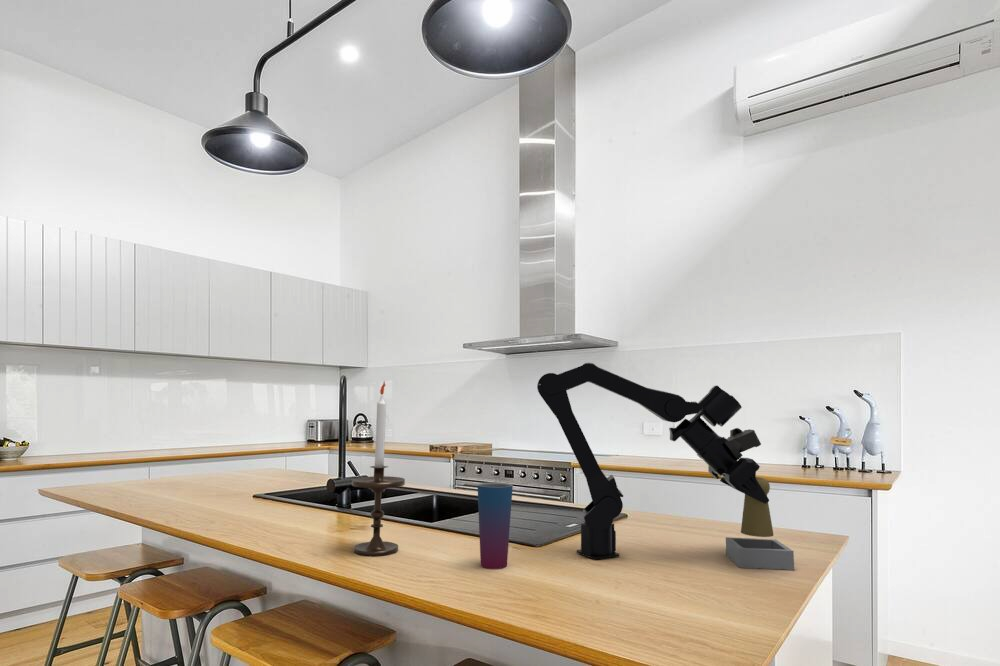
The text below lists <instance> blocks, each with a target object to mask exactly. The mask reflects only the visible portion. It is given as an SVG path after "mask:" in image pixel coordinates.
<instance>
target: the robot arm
mask: <svg viewBox="0 0 1000 666" xmlns="http://www.w3.org/2000/svg"><path fill="white" fill-rule="evenodd" d="M586 383H589V384H590V383H591V384H593V385H595V386H596V387H597V386H598V387H599V388H602V389H604V390H606V391H608V392H611V393H613V394H616V395H618V396H620V397H622V398H625V399H627V400H630V401H632V402H634V403H636V404H638V405H640V406H642V407H643V408H644V409H645V410H647V411H649V412H650V413H651V414H653V415H654V416H656V417H657V418H659V419H661V420H662V421H664V422H669V423H679V422H680V423H679V424H677V426H676V427H669V429H668V430H669V440H670V441H671V442H676V441H678V439H679V438H681V439H682V440H683V441H684V442H685V443H686V444H687V445H688V447H690V448H691V449H692V450H693V451H694V452H695V454H696V456H697V457H699V459H701V460H703V461H704V463H705V464H706V465H708V466H707V467H708V470H707V471H708V473H709V474H710V475H711V476H712V477H713V478H714V479H716V480H720V482H721V483H723V484H725V485H727V486H729V487H730V488H732V489H734V490H736V491H738V492H741V493H742V494H744V495H745V494H746V495H748V496H750V497H752V498H754V499H756V500H758V501H760V502H762V503H764V504H766V503H767V502H768V503H769V502H770V499H769V497H768V495H767V496H766V494H765V492H764V491H763V489H762V488H761V486H760V484H759V483H758V481H757V479H756V477H757V471H758V470H760V468H761V466H760V465H759V464H758V463H757V462H756V461H755V460H754V459H753V458H749V457H743V454H742V452H743V453H744V452H745V451H748V450H750V449H753V448H757V447H760V446H762V443H761V441H760V439H759V437H758V435H757V432H756V431H755V430H754V429H745V430H742V429H740V428H739V427H736V428H733V429H730V430H729V436H728V437H727V438H726V437H724V436H720V435H718V434H717V432H715V430H713V429H712V427H713V428H714V427H716V426H717V425H718V426H720V427H721V428H722V427H723V426H725V425H726V423H727V422H729V421H730V420H731V419H732V418H733V417H734V416H735V415H736V414H737V413H738V412H739V411H741V409H742V408H743V406H742V405H741V403H740V402H739V401H738V400H737V398H735V397H734V396H733V395H730V394H729V393H728V392H727V391H725V390H724V389H722V388H721V387H720V386H719V385H713V386H712V387H711V388H710V389H709V391H708V392H707V393H706V395H705V396H703V397H702V398H701V399H700V400H699V401H698V402H697V401H688V400H687V401H686V399H684V397H683V396H681V395H679V394H676V393H671V392H668V391H663V390H658V389H654V388H650V387H646V386H644V385H641V384H639V383H637V382H634V381H632V380H629V379H627V378H625V377H623V376H620V375H617V374H615V373H613V372H612V371H611V372H610V371H608V370H606V369H603V368H601V367H599V366H597V365H596V364H595V363H593V362H585V363H583V364H582V365H580V366H578V367H574V368H572V369H568V370H566V371H562V372H561V373H559V374H556V373H554V372H548V373H544V374H543V375H542V376H540V378H539V379H538V382H537V392H538V394H539V396H540V397H541V399H542V400H543V401H544V403H545V404H546V405H547V406H548V408H549V409H550V411H551V412H552V414H553V415H554V416H555V418H556V419H557V420H558V423H559V426H560V427H561V429H562V431H563V433H564V435H565V437H566V440H567V441H568V444H569V446H570V448H571V450H572V452H573V454H574V456H575V459H576V460H577V462H578V465H579V466H580V469H581V470H582V473H583V475H584V478H585V479H586V484H587V487H588V489H589V493H590V497H591V501H590V503H588V505H586V506H585V507H584V508H583V509H582V515H583V519H584V520H583V521H584V522H581V523H580V549H576V553H577V554H579V555H582V556H585V557H587V558H589V559H593V560H601V559H607V558H609V559H610V558H615V557H620V553H618V552H617V551H616V549H617V546H616V545H617V539H616V538H617V534H616V533H617V532H616V530H615V523H613V522H614V519H615V518H617V517H619V515H620V514H621V512H622V511H623V508H624V506H623V505H624V504H623V501H622V498H624V494H623V493H622V491H621V490H620V489H619V488H618V485H617V482H616V478H615V477H614V475H613V474H610V475H608V477H607V476H606V475H605V473H604V472H603V471H602V469H601V467H600V465H599V463H598V461H597V459H596V456H595V455H594V452H593V451H592V449H591V447H590V444H589V442H588V441H587V439H586V437H585V436H586V435H584V432H583V430H582V427H581V426H580V424H579V422H578V420H577V417H576V416H575V414H574V411H573V409H572V406H571V402H570V399H569V395H568V391H569V390H571V389H574V388H576V387H578V386H581V385H583V384H586ZM689 415H690V416H691V415H694V416H692V417H691V418H690V419H687V418H685V417H686V416H689ZM701 417H702V418H703V419H702V418H701ZM704 420H705V421H706V422H705V421H704ZM707 423H708V424H709V425H708V424H707ZM710 425H711V426H712V427H710ZM720 477H721V479H720Z"/></svg>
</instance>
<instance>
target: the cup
mask: <svg viewBox="0 0 1000 666" xmlns="http://www.w3.org/2000/svg"><path fill="white" fill-rule="evenodd" d="M513 486H514V484H512V483H508V482H507V483H506V482H498V481H497V482H495V481H493V482H480V483H478V484H477V505H478V506H477V507H478V528H479V529H478V530H479V532H478V533H479V534H478V535H479V553H480V555H479V558H480V566H481V567H482V568H484V569H487V570H488V569H489V570H498V569H499V570H500V569H505V568H507V566H508V559H509V558H508V555H509V543H510V541H509V540H510V530H511V529H510V526H511V516H512V514H511V513H512V512H511V511H512V503H513V490H514V489H513Z"/></svg>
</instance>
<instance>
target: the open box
mask: <svg viewBox="0 0 1000 666" xmlns="http://www.w3.org/2000/svg"><path fill="white" fill-rule="evenodd" d="M794 553H795V552H794V550H793V549H792V548H789V547H788V546H786V545H785V544H783V543H782V542H781V541H779V540H777V539H774V538H751V537H727V536H726V537H725V555H726V556H727V557H728V558H729V559H730V560H731V561H732V562H733V564H735V565H736V566H737V567H738V568H740V569H757V568H762V570H778V569H785V570H784V571H795V558H794V557H795V554H794ZM763 568H764V569H763ZM786 569H787V570H786Z"/></svg>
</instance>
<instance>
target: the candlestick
mask: <svg viewBox="0 0 1000 666" xmlns="http://www.w3.org/2000/svg"><path fill="white" fill-rule="evenodd" d="M385 387H386V383H385V380H383V383H382V385H381V387H380V390H379V393H380V398H379V400H378V401H377V402H376V404H377V405H376V419H375V420H376V421H375V422H376V423H375V424H376V425H375V446H374V451H375V452H374V465H372V466H369V468H370V469H371V468H372V469H373V476H361V477H356V478H352V479H351V486H352V487H354V488H362V489H368V490H371V492H372V493H374V505H373V506H374V509H373V510H372V511H371V512H370V517H371V518H372V519H373V522H372V524H371V525H370V528H372V530H373V531H372V532H373V533H372V537H371V539H370V540H369V541H365V542H361V543H358V544H355V545H354V546H353V551H352V552H353V554H355V555H357V556H360V557H386V556H390V555H393V554H394V555H395V554H397V553H398V552H399V544H398V543H395V542H392V541H391V542H390V541H383V540H382V537H381V528H383V527H384V524H382V519H383V517H384V515H385V512H384V510H382V509H381V508H382V493H384V492H385V490H388V489H391V488H398V487H403V486H405V482H406V480H405V478H404V477H400V476H390V475H389V476H388V475H387V476H385V469H386V468H389V466H388V465H387V466H386V465H385V439H386V417H387V416H386V413H387V411H386V410H387V402H385V399H384V393H385Z"/></svg>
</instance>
